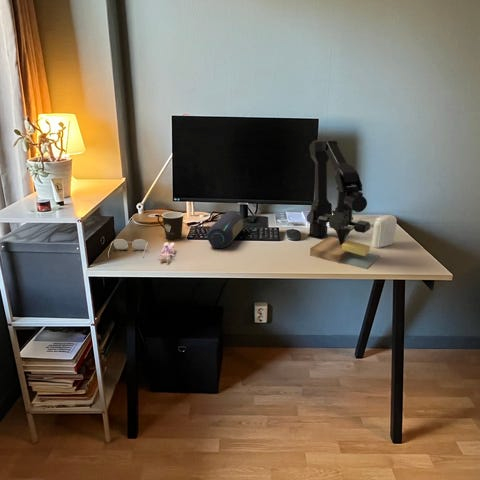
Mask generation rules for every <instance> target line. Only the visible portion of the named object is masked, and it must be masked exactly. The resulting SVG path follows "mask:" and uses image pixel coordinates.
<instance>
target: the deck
mask: <svg viewBox="0 0 480 480" xmlns="http://www.w3.org/2000/svg"><path fill="white" fill-rule="evenodd" d="M346 240H347V239H346ZM346 240H345V241H346ZM341 248H342V245H341V244H340V242H339V239H338V237H332V236H328V237H327V238H326V237H325V238H324V239H323V240H321V241H320V242H318V243H316V244H315V245H313V246H311V247H310V248H309V250H310V251H309V256H311V257H315V258H319V259H322V260H326V261H329V262H334V263H337V264H340V263H342V262H341V261H342V260H343V259H345V258H346V257H347V256H349V255H350V254H351V253H352V252H348V251H345V250H341Z"/></svg>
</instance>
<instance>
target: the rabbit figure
mask: <svg viewBox="0 0 480 480" xmlns="http://www.w3.org/2000/svg"><path fill="white" fill-rule="evenodd" d="M162 246H163V247H162V249H161V250H160V254H157V257H160V263H159V264H162V265H163V263H165V262H166V264H170V262H171V257H175V256H176V255H175V250H174V249H175V242H171V243H169V242H168V241H167V242H164V243H163V245H162ZM166 264H165V265H166Z"/></svg>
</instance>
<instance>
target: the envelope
mask: <svg viewBox="0 0 480 480" xmlns="http://www.w3.org/2000/svg"><path fill="white" fill-rule="evenodd" d="M352 217H353V220H352V222H356V223H357V222H358V221H360V220H361V221H367V222H369V223H370V228H374V222H375V220H376V219H377V218H379V217H378V215H373V214H372V215H370V214H369V215H365V214H352Z"/></svg>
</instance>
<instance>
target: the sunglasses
mask: <svg viewBox="0 0 480 480" xmlns="http://www.w3.org/2000/svg"><path fill="white" fill-rule="evenodd" d="M128 243H129V241H127V240H125V239H123V238H118V239H117V238H116V239H114V240H113V241H112V242H111V243H110V247H109V250H108V252H107V254H108V258H109V257H110V255H109V252H110V249H111V247H112V244H113V246H114V248H115V249H116V250H126V249H127V248H128V247H129V244H128ZM148 243H149V242H148V241H146V240H145V239H134V240H133V241H131V244H132V245H131V247H132V248H133V249H136V250H139V251H142V250H143V255H142V256H144V253H145V251H146V249H147V246H148Z"/></svg>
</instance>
